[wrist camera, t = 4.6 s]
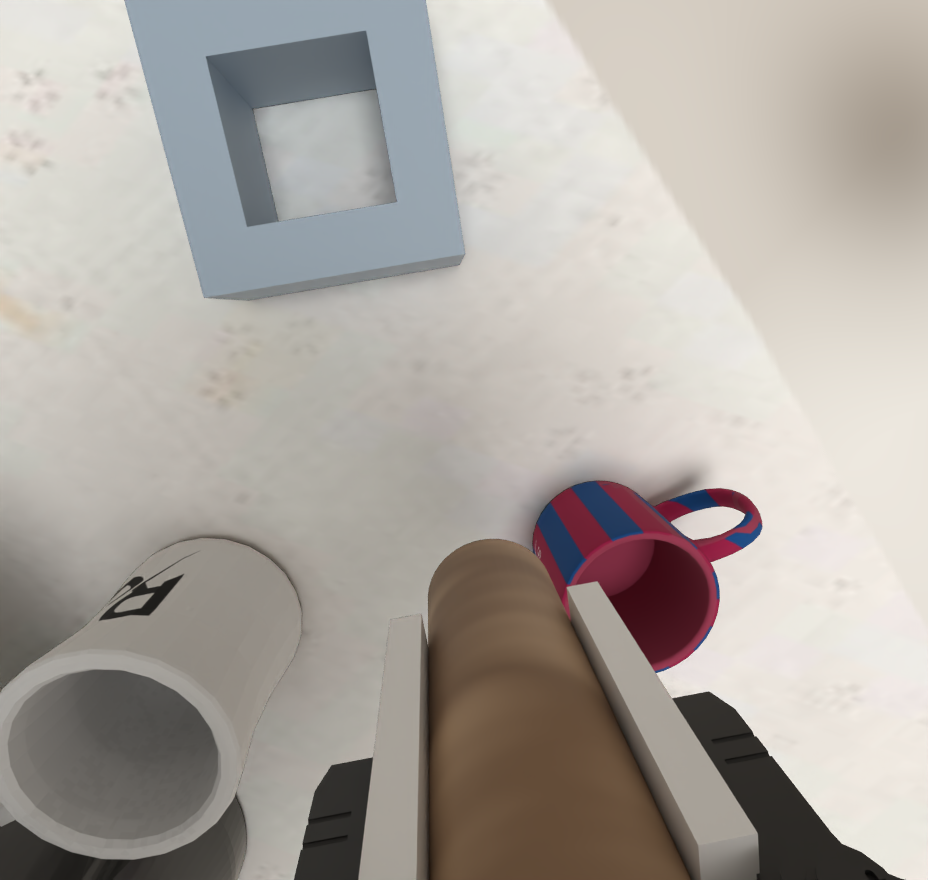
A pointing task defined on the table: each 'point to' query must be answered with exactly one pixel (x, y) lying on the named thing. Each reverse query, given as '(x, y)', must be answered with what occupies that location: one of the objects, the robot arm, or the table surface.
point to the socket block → (284, 81)
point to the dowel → (527, 737)
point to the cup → (643, 560)
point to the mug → (149, 704)
